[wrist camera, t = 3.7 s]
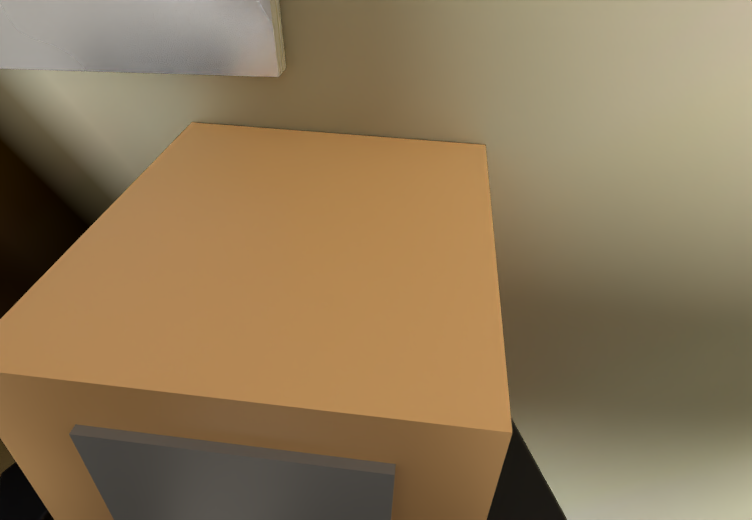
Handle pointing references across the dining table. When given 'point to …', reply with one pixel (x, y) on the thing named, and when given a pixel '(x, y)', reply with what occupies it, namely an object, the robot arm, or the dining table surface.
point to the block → (269, 338)
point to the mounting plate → (144, 36)
